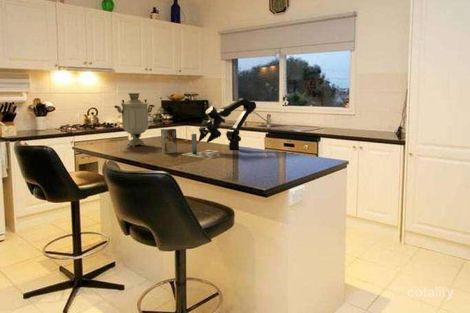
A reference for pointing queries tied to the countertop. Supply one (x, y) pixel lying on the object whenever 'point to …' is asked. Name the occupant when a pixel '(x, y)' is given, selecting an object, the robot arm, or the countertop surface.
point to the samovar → (135, 117)
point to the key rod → (194, 144)
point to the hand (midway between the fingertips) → (202, 141)
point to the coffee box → (169, 140)
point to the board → (205, 154)
